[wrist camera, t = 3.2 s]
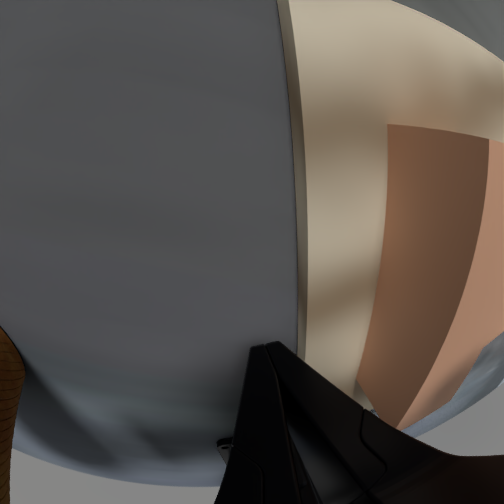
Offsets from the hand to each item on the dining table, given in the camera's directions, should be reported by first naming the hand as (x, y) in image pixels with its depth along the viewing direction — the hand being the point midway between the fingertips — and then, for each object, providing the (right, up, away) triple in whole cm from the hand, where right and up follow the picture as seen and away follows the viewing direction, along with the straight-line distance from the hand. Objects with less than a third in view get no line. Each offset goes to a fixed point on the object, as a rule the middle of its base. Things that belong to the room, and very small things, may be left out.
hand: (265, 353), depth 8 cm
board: (+18, +4, +5) cm, 19 cm away
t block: (+10, +3, +3) cm, 11 cm away
